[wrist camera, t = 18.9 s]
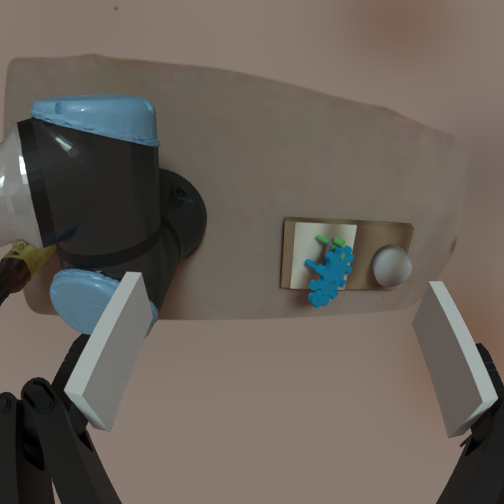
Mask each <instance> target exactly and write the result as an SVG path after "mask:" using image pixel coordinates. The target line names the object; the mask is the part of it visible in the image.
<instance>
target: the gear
mask: <svg viewBox="0 0 504 504" xmlns="http://www.w3.org/2000/svg"><path fill="white" fill-rule="evenodd" d="M316 239H317V240H319V241H321V242H323V243H325V244H327V248H326V252H325V255H324V259H323V262H322V264H319V265H318V264H316V263H315V262H313V261H311V260H309V259H307V260H306V261H305V265H306V266H308V267H310V268H311V269H313V270H315V272H316V273H318V274H319V280H318V282H317V281H316V280H314V279H312V280H311V282H310V284H309V286H308V288H310V289H311V290H313V291H315V290H316V289H317V290H316V292H314V293H313V292H311V293H309V295H308V301H310V302H311V303H312V305H313V306H315V307H316V308H318V307H319V306H320V305H322V306H327V304H328V302H329V299H330V298H331V299H334V298H336V297H337V295H338V292H337V291H338V286H339V287H341V288H343V287H344V285H345V284H346V280H344V274H345V273H346V274H348V275H349V274H350V273H351V271H352V267H351V266H349V265H347V263H348V262H350V263H352V262H353V260H354V255H353V254H352V253H351V252H352V248H351V247H349V246H348V245H346V246H345V247H343V246H344V245H345V240H343V239H341V238H339V237H335V239H333V238H332V239H330V240H328V239H326V238H325V237H323V236H321V235H317V237H316ZM334 250H335V251H334Z"/></svg>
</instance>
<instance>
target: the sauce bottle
mask: <svg viewBox="0 0 504 504" xmlns="http://www.w3.org/2000/svg"><path fill="white" fill-rule="evenodd" d="M56 249H57V248H56V244H53V245H51V246H48V247H46V248H43V249H40V250H39V249H37V248H35V247H33V246H31V245H29V244H27V243H25V242H24V241H19V242H18V243H17V244H16V245H15V246H14V247H13V248H12V249H11V250H10V251H9V252H8V253H7V254H6V255H5V256H4V257H3V258H2V259H1V262H0V306H1V304H2V303H3V301H4V300H5V299H6V298H7V297H8V296H9V294H11V293H16V292H18V291H20V290H21V289H22V288H24V286H25V285H26V284H27V282H28V281H30V280H31V279H32V277H33V276H34V275H35V274H36V273H37V271H38V270H39V269H40V268H41V267H42V266H43V264H44V263H45V262H46V261H47V260H48V259H49V258H50V256H51V255H52V254H53V253H54V252H55V250H56Z"/></svg>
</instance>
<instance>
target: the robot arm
mask: <svg viewBox="0 0 504 504" xmlns="http://www.w3.org/2000/svg"><path fill="white" fill-rule="evenodd" d="M30 116H31V117H32V118H30V119H27V120H24V121H20V122H17V123H14V124H13V125H12V126H11V128H10V129H9V131H8V132H7V134H6V136H5V137H4V139H3V140H2V142H1V143H0V247H2V246H4V245H7V244H9V243H12V242H14V241H17V240H19V241H24V242H25V243H27V244H29V245H31V246H33V247H35V248H37V249H39V250H40V249H43V248H46V247H48V246H51V245H53V244H56V248H57V251H58V255H59V259H60V262H61V271H59V272H58V273H57V274H55V276H54V277H53V282H52V284H51V286H50V298H51V301H52V304H53V306H54V308H55V310H56V311H57V313H58V314H59V315H60V317H61V318H62V319H63V320H64V321H65V322H66V323H67V324H68V325H70V326H71V327H72V328H73V329H75V330H76V331H78V332H79V333H81V335H80V336H79V337H78V338H77V339H76V340H75V341H74V342H73V344H72V346H71V348H70V349H69V353H67V355H66V357H65V360H64V361H63V363H62V365H61V367H60V368H59V370H58V372H57V374H56V376H55V378H54V380H53V382H52V384H51V385H50V384H49V382H48V381H47V380H45V379H44V378H40V377H37V378H32V379H31V380H30V381H28V382H27V383H26V384H25V385H24V386H23V388H22V391H21V399H22V400H18V399H16V397H15V396H14V395H13V394H11V393H10V392H4V393H1V394H0V504H55V501H54V494H53V488H52V481H53V484H54V486H55V489H56V492H57V494H58V497H59V499H60V502H61V504H122V503H121V501H120V499H119V497H118V496H117V493H116V492H115V490H114V488H113V486H112V484H111V482H110V480H109V478H108V476H107V474H106V472H105V470H104V468H103V465H102V464H101V461H100V459H99V456H98V454H97V452H96V450H95V447H94V445H93V443H92V440H91V438H90V435H89V433H88V431H87V430H86V425H87V423H88V422H89V423H90V424H91V425H92V426H93V427H94V428H96V429H100V430H103V431H107V432H111V428H112V426H113V423H114V420H115V417H116V414H117V411H118V408H119V405H120V403H121V400H122V397H123V394H124V391H125V388H126V386H127V383H128V380H129V378H130V375H131V372H132V369H133V367H134V364H135V361H136V359H137V356H138V353H139V351H140V348H141V346H142V343H143V341H144V339H145V338H146V337H147V335H148V334H149V332H150V330H151V328H152V327H153V325H154V323H155V322H156V321H157V319H158V314H159V311H160V308H161V306H162V303H163V300H164V298H165V295H166V293H167V290H168V288H169V285H170V283H171V280H172V278H173V276H174V273H175V271H176V268H177V266H178V264H179V263H180V262H181V261H182V260H183V259H185V258H187V257H188V256H189V255H191V254H192V253H193V252H194V251H195V250H196V248H197V247H198V246H199V244H200V242H201V240H202V237H203V235H204V232H205V229H206V224H207V213H206V208H205V205H204V202H203V200H202V198H201V196H200V194H199V193H198V191H197V190H196V189H195V187H194V186H193V185H192V184H191V183H190V182H188V181H187V180H186V179H185V178H183V177H182V176H180V175H178V174H176V173H174V172H171V171H168V170H164V169H159V157H158V147H159V146H160V142H159V140H158V139H157V124H156V111H155V108H154V106H153V105H152V103H151V102H150V101H148V100H147V99H145V98H143V97H139V96H132V95H112V94H99V95H73V96H61V97H54V98H48V99H40V100H37V101H35V102H34V103H33V105H32V109H31V111H30ZM412 325H413V328H414V331H415V333H416V336H417V339H418V341H419V344H420V347H421V350H422V353H423V355H424V358H425V361H426V364H427V367H428V370H429V373H430V376H431V379H432V382H433V386H434V389H435V392H436V395H437V399H438V402H439V405H440V409H441V413H442V416H443V420H444V423H445V427H446V431H447V435H448V438H451V437H456V436H460V435H463V434H464V433H465V432H466V431H467V430H468V429H469V428H471V432H472V434H471V435H470V436H469V437H468V438H467V439H466V440H464V441H463V442H462V443H461V445H460V447H462V446H463V445H465V444H466V445H465V447H464V450H463V452H462V454H461V456H460V458H459V461H458V463H457V465H456V467H455V469H454V471H453V473H452V475H451V477H450V479H449V481H448V483H447V485H446V487H445V488H444V490H443V492H442V494H441V496H440V498H439V499H438V501H437V503H436V504H504V385H503V383H502V381H501V378H500V376H499V374H498V372H497V371H496V367H495V365H494V363H493V360H492V358H491V356H490V354H489V352H488V351H487V350H486V348H485V347H484V346H483V345H482V344H481V343H479V344H474V341H473V339H472V337H471V335H470V333H469V331H468V329H467V327H466V325H465V323H464V321H463V319H462V317H461V315H460V313H459V311H458V309H457V308H456V306H455V304H454V302H453V300H452V299H451V296H450V295H449V293H448V291H447V289H446V288H445V286H444V284H443V282H429V283H428V285H427V288H426V291H425V293H424V296H423V298H422V301H421V303H420V306H419V308H418V311H417V313H416V316H415V318H414V320H413V323H412ZM51 478H52V480H51Z"/></svg>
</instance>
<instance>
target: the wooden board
mask: <svg viewBox="0 0 504 504" xmlns="http://www.w3.org/2000/svg"><path fill="white" fill-rule="evenodd" d="M413 231H414V227H413V226H412V224H409V223H394V222H378V221H361V220H342V219H322V218H298V217H285V221H284V240H283V258H282V274H281V288H290V289H310V288H308V286H309V284H310V282H311V280H312V279H314V280H316V281H317V282H318V280H319V274H318V273H316V272H315V270H313V269H311V268H310V267H308V266H306V265H305V261H306V260H307V259H309V260H311V261H313V262H315V263H316V264H318V265H319V264H322V262H323V259H324V255H325V252H326V248H327V244H325V243H323V242H321V241H319V240H317V239H316V237H317V235H321V236H323V237H325V238H326V239H328V240H330V239H332V238H333V239H335V237H339V238H341V239H343V240H345V245H344V246H343V247H345V246H346V245H348V246H349V247H351V248H352V252H351V253H352V254H353V255H354V260H353V262H352V263H350V262H348V263H347V265H349V266H351V267H352V271H351V273H350V274H349V275H348V274H346V273H345V274H344V280H346V284H345V285H344V287H343V288H341V287H339V286H338V290H344V289H369V290H396V289H397V286H398V285H400V284H401V283H403V282H404V281H405V280H406V279H407V278H408V277H409V275H410V273H411V270H412V265H411V262H410V260H409V258H408V256H407V253H408V250H409V246H410V243H411V239H412V235H413ZM334 251H335V250H334Z"/></svg>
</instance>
